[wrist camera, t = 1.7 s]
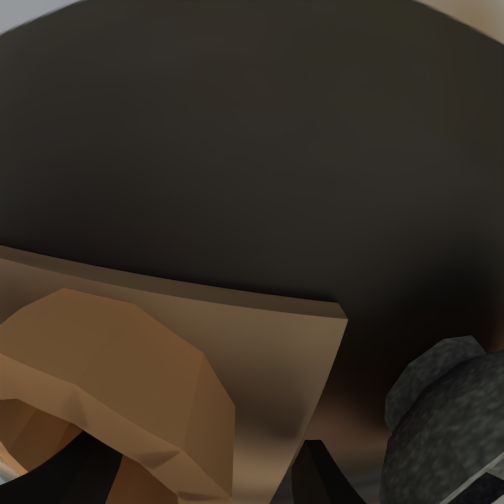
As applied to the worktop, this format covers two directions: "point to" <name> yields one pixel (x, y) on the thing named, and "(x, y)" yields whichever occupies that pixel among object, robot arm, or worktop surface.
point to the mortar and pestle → (446, 427)
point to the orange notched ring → (115, 398)
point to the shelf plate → (217, 350)
